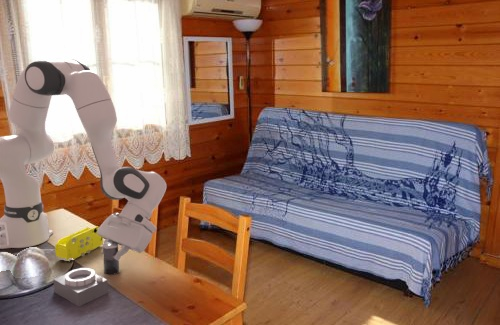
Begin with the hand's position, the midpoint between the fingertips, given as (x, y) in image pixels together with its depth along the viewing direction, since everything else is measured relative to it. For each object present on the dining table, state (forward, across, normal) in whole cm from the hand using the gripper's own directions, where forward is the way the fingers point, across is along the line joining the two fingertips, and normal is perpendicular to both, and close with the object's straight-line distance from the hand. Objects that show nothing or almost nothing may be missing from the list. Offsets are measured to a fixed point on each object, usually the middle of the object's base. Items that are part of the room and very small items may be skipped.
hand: (109, 256), depth 127 cm
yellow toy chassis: (+2, -19, +6) cm, 20 cm away
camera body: (+12, +4, -5) cm, 14 cm away
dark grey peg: (+3, 0, +4) cm, 5 cm away
